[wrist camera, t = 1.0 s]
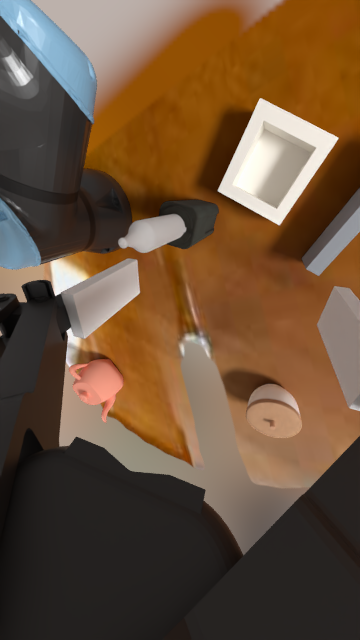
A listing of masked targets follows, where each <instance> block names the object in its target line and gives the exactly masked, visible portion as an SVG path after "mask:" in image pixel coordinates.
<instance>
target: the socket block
mask: <svg viewBox="0 0 360 640" xmlns="http://www.w3.org/2000/svg"><path fill="white" fill-rule="evenodd" d="M338 139H339V138H338V137H336V136H334V135H332V134H330V133H328V132H326V131H324V130H322V129H320V128H318V127H316V126H314V125H312V124H310V123H308V122H306V121H304V120H303V119H301V118H299V117H297V116H295V115H293V114H291V113H289V112H287V111H285V110H283V109H281V108H279V107H277V106H275V105H273V104H271V103H269V102H267V101H265V100H263V99H261V98H260V99H259V102H258V104H257V106H256V108H255V110H254V112H253V115H252V117H251V119H250V121H249V123H248V126H247V128H246V130H245V132H244V134H243V137H242V139H241V141H240V143H239V145H238V147H237V150H236V152H235V154H234V156H233V158H232V161H231V163H230V165H229V167H228V169H227V171H226V174H225V176H224V178H223V180H222V182H221V185H220V187H219V189H218V192H220V193H222V194H224V195H225V196H227V197H229V198H231V199H233V200H234V201H236V202H238V203H240V204H242V205H244V206H245V207H247V208H249V209H251V210H253V211H254V212H256V213H258V214H260V215H262V216H263V217H265V218H267V219H269V220H271V221H273V222H274V223H276V224H278V225H280V224H281V222H282V221H283V219H284V218H285V216H286V215H287V214H288V212H289V211H290V209H291V208H292V206H293V205H294V203H295V202H296V200H297V199H298V197H299V196H300V194H301V193H302V191H303V190H304V189H305V187H306V186H307V184H308V183H309V181H310V180H311V178H312V177H313V175H314V174H315V172H316V171H317V169H318V168H319V166H320V165H321V164H322V162H323V161H324V159H325V158H326V156H327V155H328V153H329V152H330V150H331V149H332V147H333V146H334V144H335V143H336V141H337V140H338Z"/></svg>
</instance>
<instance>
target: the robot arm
mask: <svg viewBox="0 0 360 640" xmlns="http://www.w3.org/2000/svg"><path fill="white" fill-rule="evenodd" d="M96 90H97V80H96V75H95V71H94V68H93V66H92V64H91V62H90V61H89V59H88V58H87V56H86V55H85V54H84V53H83V51H82V50H81V49H80V48H79V47H78V46H77V45H76V44H75V43H74V42H73V41H72V40H71V39H70V38H69V37H68V36H67V35H66V34H65V33H64V32H63V31H62V30H61V29H60V28H59V27H58V26H57V25H56V24H55V23H54V22H53V21H52V20H51V19H50V18H49V17H48V16H47V15H46V14H45V13H44V12H43V11H42V10H41V9H40V8H39V7H37V6H36V5H35V4H34V3H33V2H32V1H31V0H0V266H1V267H3V268H7V269H21V268H25V267H30V266H38V265H40V264H44V263H47V262H50V261H53V260H56V259H59V258H62V257H66V256H69V255H72V254H75V253H78V252H81V251H87V252H94V253H110V252H113V251H115V250H118V249H120V248H121V247H120V246H119V244H118V240H119V239H120V238H125V236H126V235H127V234H128V231H129V228H130V226H131V224H132V215H131V209H130V205H129V202H128V199H127V197H126V195H125V193H124V191H123V189H122V188H121V186H120V185H119V184H118V183H117V181H116V180H115V179H113V178H112V177H111V176H110V175H108V174H107V173H105V172H102V171H99V170H93V169H83V168H84V163H85V158H86V153H87V147H88V142H89V137H90V132H91V127H92V124H94V118H93V112H94V104H95V97H96ZM22 289H23V292H24V294H25V296H26V299H27V303H25V302H19V301H18V299H17V296H16V295H15V294H0V331H1V333H2V336H1V337H0V640H360V436H359V437H358V438H357V439H356V440H355V441H354V442H353V444H352V445H351V446H350V447H349V448H348V449H347V450H346V451H345V452H344V453H343V454H342V455H341V456H340V457H339V458H338V459H337V460H336V461H335V462H334V463H333V464H332V465H331V467H330V468H329V469H328V470H327V471H326V472H325V473H324V474H323V475H322V476H321V477H320V478H319V479H318V480H317V481H316V482H315V483H314V484H313V485H312V486H311V487H310V488H309V490H308V491H307V492H306V493H305V494H303V495H302V496H301V497H300V498H299V499H298V500H297V501H296V502H295V503H294V504H293V505H292V506H291V507H290V508H289V509H288V510H287V511H286V512H285V513H284V514H283V515H282V516H281V517H280V518H279V519H278V520H277V521H276V522H275V524H273V526H272V527H271V528H270V529H269V530H268V531H267V532H266V533H265V534H264V535H263V536H262V537H261V538H260V539H259V540H258V541H257V542H256V543H255V544H254V545H253V546H252V547H251V548H250V550H249V551H248V552H247V553H246V554H245V555H244V556H243V554H242V552H241V549H240V547H239V546H238V543H237V541H236V540H235V538H234V536H233V534H232V533H231V531H230V530H229V528H228V526H227V525H226V524H225V522H224V521H223V520H222V518H221V517H220V516H219V515H218V514H217V513H216V511H214V509H213V508H212V507H211V506H209V505H208V504H207V503H206V502H205V501H203V500H204V494H205V489H202V488H200V487H197V486H195V485H193V484H190V483H188V482H185V481H183V480H180V479H178V478H176V477H173V476H171V475H164V474H153V473H142V472H132V471H130V470H128V469H127V468H126V467H125V466H124V465H122V464H121V463H120V462H119V461H118V460H117V459H116V458H115V457H113V456H112V455H111V454H110V453H109V452H108V451H107V450H106V449H105V448H103V447H100V446H98V445H95V444H93V443H91V442H88V441H86V440H83V439H81V438H78V437H76V438H75V439H74V441H73V442H72V443H71V444H70V446H62V447H59V432H60V431H59V430H60V419H61V409H62V397H63V385H64V374H65V363H66V352H67V340H68V335H67V332H66V331H67V330H68V329H69V328H71V329H72V332H73V335H74V336H76V337H79V338H83V339H85V338H86V337H87V336H89V335H90V334H91V333H92V332H93V331H95V330H96V329H97V328H98V327H99V326H101V325H102V324H103V323H104V322H105V321H107V320H108V319H109V318H110V317H112V316H113V315H114V314H115V313H116V312H118V311H119V310H120V309H121V308H122V307H124V306H125V305H126V304H127V303H128V302H130V301H131V300H132V299H133V298H134V297H136V296H137V295H138V294H139V293H140V290H139V278H138V265H137V260H135V259H126V260H124V261H122V262H120V263H118V264H116V265H114V266H112V267H110V268H108V269H106V270H104V271H102V272H101V273H99V274H97V275H95V276H93V277H91V278H89V279H87V280H85V281H83V282H81V283H79V284H77V285H75V286H73V287H71V288H69V289H67V290H65V291H63V292H61V294H59V295H57V296H55V295H54V291H53V288H52V285H51V282H50V281H48V280H37V281H31V282H28V283H26V284H24V285H22ZM317 326H318V329H319V331H320V334H321V337H322V339H323V342H324V344H325V347H326V350H327V352H328V355H329V357H330V360H331V363H332V365H333V368H334V370H335V373H336V376H337V378H338V381H339V383H340V386H341V389H342V391H343V394H344V396H345V399H346V401H347V404H348V407H349V408H350V409H354V410H358V411H360V300H359V299H358V298H357V297H356V296H355V295H354V293H353V292H352V291H351V290H350V289H349V288H344V287H336V286H334V288H333V290H332V292H331V295H330V297H329V299H328V301H327V304H326V306H325V308H324V310H323V312H322V315H321V317H320V319H319V321H318V324H317Z"/></svg>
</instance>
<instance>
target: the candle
mask: <svg viewBox="0 0 360 640" xmlns="http://www.w3.org/2000/svg"><path fill="white" fill-rule="evenodd" d="M218 212H219V209H218V206H217V205H216V204H214V203H210V202H206V201H202V200H182V201H167V202H164V203H163V204H162V205H161V207H160V212H159V217H154V218H148V219H143V220H138V221H135V222H134V223H132V224H131V226H130V228H129V231H128V234H127V235H126V236H125V238H120V239H119V240H118V244H119V246H120V247H121V248H127V246H128V247H133V248H134V249H135V250H137V251H139V252H142V253H146V252H149V251H152V250H154V249H156V248H158V247H160V246H163V245H165V244H168V245H171V246H175V247H178V248H181V249H187V248H189V247H191V246H192V245H194V244H196V243H197V242H199V241H200V240H202V239H204V238H205V237H207V236H209V235H210V234H212V233H213V231H214V224H215V220H216V216H217V214H218Z"/></svg>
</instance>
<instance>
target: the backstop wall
mask: <svg viewBox="0 0 360 640" xmlns="http://www.w3.org/2000/svg"><path fill="white" fill-rule="evenodd" d="M359 232H360V188H359V189H358V190H357V191H356V193H355V194H354V195H353V196H352V198H351V199H350V200H349V201H348V202H347V204H346V205H345V206H344V207H343V209H342V210H341V211H340V212H339V213H338V215H337V216H336V217H335V218H334V220H333V221H332V222H331V223H330V224H329V226H328V227H327V228H326V229H325V230H324V232H323V233H322V234H321V235H320V237H319V238H318V239H317V240H316V241H315V243H314V244H313V245H312V246H311V248H310V249H309V250H308V251H307V252H306V254H305V255H304V256H303V257H302V261H303V263H304V265H305V268H306V269H307V270H309V271H311V272H313V273H314V274H316V275H318V276H319V275H320V274H321V273H322V272H323V270H324V269H325V268H326V267H327V266H328V265H329V264H330V263H331V262H332V261H333V260H334V259H335V258H336V256H337V255H338V254H339V253H340V252H341V251H342V250H343V249H344V248H345V247H346V246H347V245H348V243H349V242H350V241H351V240H352V239H353V238H354V237H355V236H356V235H357V234H358V233H359Z"/></svg>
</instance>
